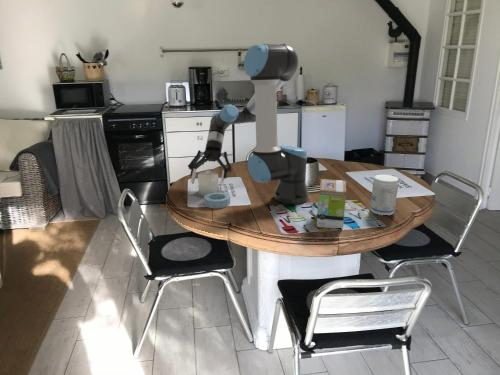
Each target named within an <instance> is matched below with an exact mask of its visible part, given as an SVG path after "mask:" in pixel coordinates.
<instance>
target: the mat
mask: <svg viewBox="0 0 500 375" xmlns="http://www.w3.org/2000/svg"><path fill="white" fill-rule="evenodd" d="M219 192H220V193H226V192H227V191H226V190H220V189H218V193H219ZM190 196H191V197H195V198H196V197H197V198H203V199H204V196H200V195H199V190H197V191H196V192H194V193H192V194H190Z"/></svg>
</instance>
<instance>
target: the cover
mask: <svg viewBox="0 0 500 375" xmlns="http://www.w3.org/2000/svg"><path fill="white" fill-rule="evenodd" d="M197 182H198V183H197V185H198V190H197V191H199V195H200V196H205V195H207V194H210V193H218V190H219V173H218V172H215V171H212V170H209V169H206V170H205V171H202V172H199V173H197Z"/></svg>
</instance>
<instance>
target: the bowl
mask: <svg viewBox="0 0 500 375" xmlns="http://www.w3.org/2000/svg"><path fill="white" fill-rule="evenodd" d="M203 203H204V206H205V207H206V208H210V209H223V208H227V207H229V206H230V205H231V194H228V193H226V192H225V193H220V192H219V193H210V194H207V195H205V196H204V198H203Z"/></svg>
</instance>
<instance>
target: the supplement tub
mask: <svg viewBox="0 0 500 375" xmlns="http://www.w3.org/2000/svg"><path fill="white" fill-rule="evenodd" d="M398 189H399V177H396V176H394V175H391V174H377V175H375V176H374V177H373V182H372V189H371V190H372V192H371V198H370V208H369V209H370V211H371V212H372V213H373V214H376V215H377V214H378V216H383V215H388V216H391V215H393V214H394V213H395V210H396V204H397V197H398V196H397V195H398Z"/></svg>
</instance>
